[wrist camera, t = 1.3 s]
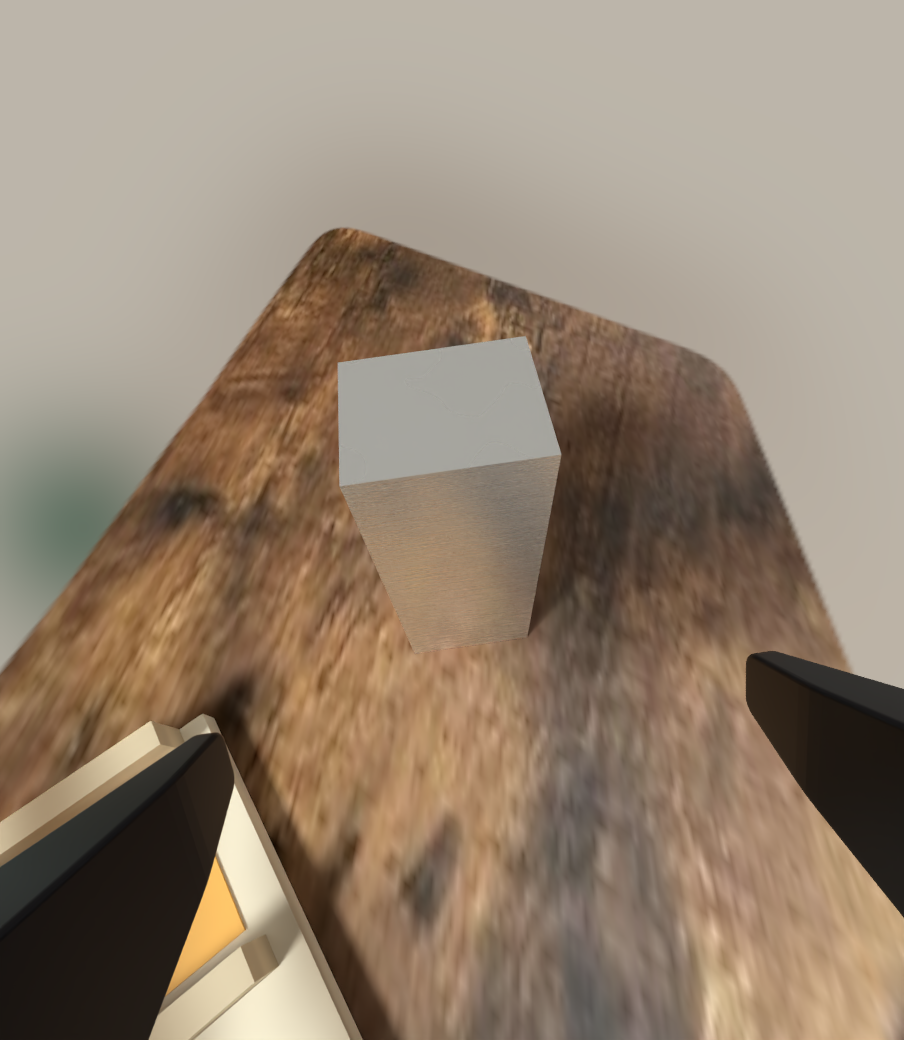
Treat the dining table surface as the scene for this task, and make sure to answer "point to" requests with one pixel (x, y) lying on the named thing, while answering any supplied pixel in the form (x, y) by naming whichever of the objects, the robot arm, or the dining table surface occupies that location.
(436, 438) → the brushed steel block
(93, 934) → the robot arm
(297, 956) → the cream divided tray
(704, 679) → the dining table surface
